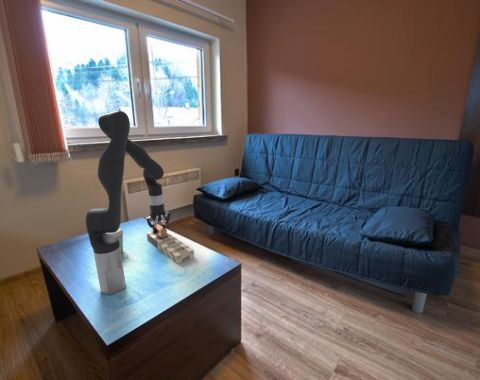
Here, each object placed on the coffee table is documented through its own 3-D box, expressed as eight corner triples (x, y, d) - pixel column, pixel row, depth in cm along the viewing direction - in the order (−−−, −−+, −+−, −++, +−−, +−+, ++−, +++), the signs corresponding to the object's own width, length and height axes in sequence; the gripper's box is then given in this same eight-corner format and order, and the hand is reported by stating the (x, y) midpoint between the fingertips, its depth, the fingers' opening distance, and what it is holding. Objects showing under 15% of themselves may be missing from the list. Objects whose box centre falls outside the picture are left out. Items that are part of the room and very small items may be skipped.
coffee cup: (103, 253, 131) (100, 232, 128) (118, 246, 139) (115, 225, 136) (115, 257, 128) (111, 235, 124) (129, 250, 135) (126, 228, 132)
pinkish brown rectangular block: (168, 244, 141) (166, 229, 138) (162, 246, 139) (160, 231, 136) (159, 237, 150) (157, 223, 147) (153, 239, 147) (151, 225, 145)
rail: (194, 257, 126) (193, 250, 125) (177, 264, 121) (176, 256, 120) (162, 234, 153) (161, 228, 152) (146, 239, 147) (146, 232, 146)
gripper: (146, 207, 131) (149, 238, 135) (172, 201, 140) (174, 230, 144) (140, 204, 136) (144, 234, 141) (165, 198, 145) (168, 226, 150)
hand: (159, 232), depth 143 cm, fingers open, 4 cm apart
